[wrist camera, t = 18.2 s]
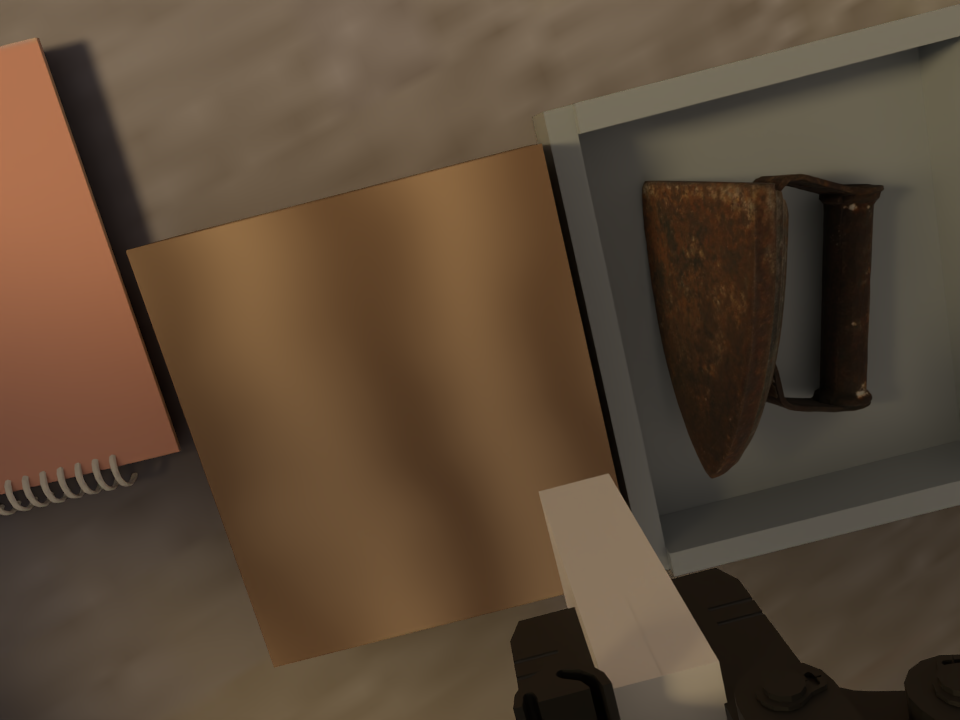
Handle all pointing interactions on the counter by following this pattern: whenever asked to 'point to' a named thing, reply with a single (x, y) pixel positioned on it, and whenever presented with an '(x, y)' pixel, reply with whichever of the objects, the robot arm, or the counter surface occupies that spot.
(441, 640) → the counter surface
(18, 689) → the counter surface
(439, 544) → the walnut stand
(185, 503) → the counter surface
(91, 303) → the notebook
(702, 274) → the clothes iron
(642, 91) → the bin
